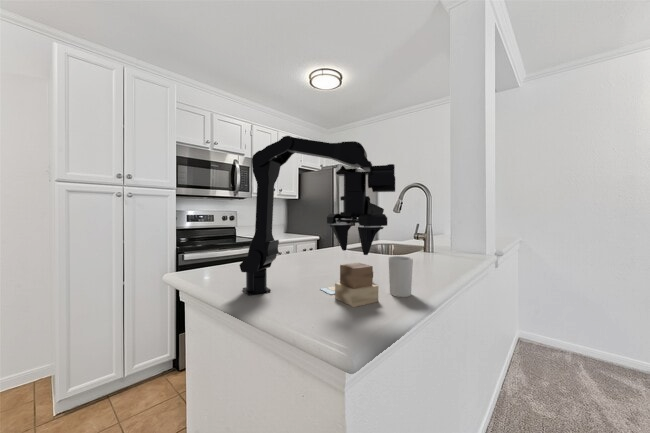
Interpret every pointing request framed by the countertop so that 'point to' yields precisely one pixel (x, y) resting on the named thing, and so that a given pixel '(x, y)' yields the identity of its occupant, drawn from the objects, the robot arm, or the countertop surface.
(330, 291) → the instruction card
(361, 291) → the base block
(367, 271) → the walnut block
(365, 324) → the countertop surface
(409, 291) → the drinking glass
